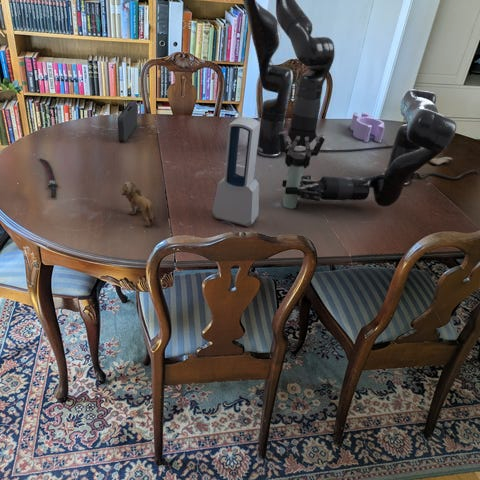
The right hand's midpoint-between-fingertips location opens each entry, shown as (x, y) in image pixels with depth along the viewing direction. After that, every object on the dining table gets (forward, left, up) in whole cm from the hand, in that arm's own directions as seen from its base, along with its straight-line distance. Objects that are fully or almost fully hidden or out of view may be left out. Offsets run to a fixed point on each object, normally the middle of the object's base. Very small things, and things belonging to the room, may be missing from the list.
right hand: (284, 187), depth 147 cm
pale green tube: (-2, +1, -6) cm, 7 cm away
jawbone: (-86, -11, -6) cm, 87 cm away
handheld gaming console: (+23, -75, -6) cm, 79 cm away
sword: (+62, -45, -6) cm, 77 cm away
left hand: (-2, +1, +7) cm, 8 cm away
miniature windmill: (-48, -62, -6) cm, 78 cm away
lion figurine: (+44, -10, -6) cm, 46 cm away
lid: (-3, +1, +10) cm, 11 cm away
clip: (-77, -41, -6) cm, 88 cm away
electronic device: (+19, +2, -6) cm, 20 cm away
